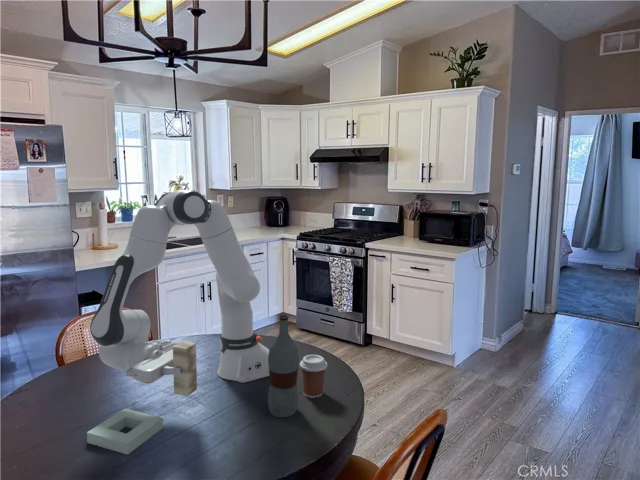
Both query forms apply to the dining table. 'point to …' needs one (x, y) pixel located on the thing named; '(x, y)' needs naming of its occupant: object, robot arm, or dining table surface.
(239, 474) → the dining table surface
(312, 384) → the coffee cup
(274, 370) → the bottle
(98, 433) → the socket plate
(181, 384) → the peg
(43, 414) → the dining table surface
